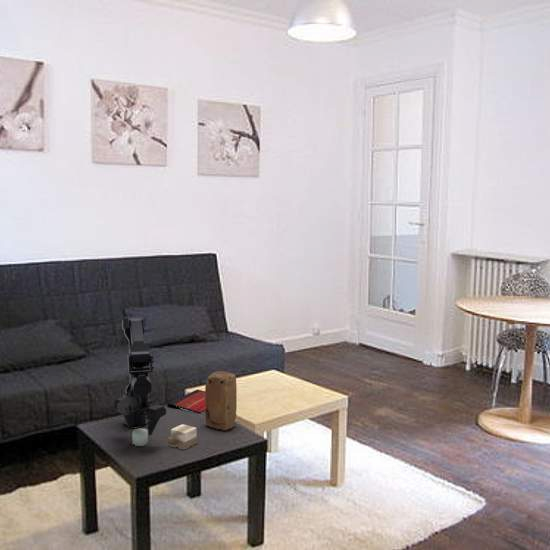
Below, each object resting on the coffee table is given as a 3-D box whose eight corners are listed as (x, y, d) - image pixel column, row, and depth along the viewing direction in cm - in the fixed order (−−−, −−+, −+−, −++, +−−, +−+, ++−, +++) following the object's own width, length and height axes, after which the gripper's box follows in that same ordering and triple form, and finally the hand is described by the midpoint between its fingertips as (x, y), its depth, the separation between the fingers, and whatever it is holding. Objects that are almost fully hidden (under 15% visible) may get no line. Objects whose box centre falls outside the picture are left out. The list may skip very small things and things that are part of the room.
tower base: (167, 446, 214) (167, 437, 213) (181, 439, 219) (181, 431, 219) (184, 451, 210) (184, 442, 210) (197, 444, 216) (197, 436, 215)
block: (238, 426, 232) (238, 373, 229) (226, 433, 225) (227, 378, 223) (213, 420, 237) (213, 368, 235) (201, 427, 231) (201, 373, 228)
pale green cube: (129, 444, 214) (129, 431, 213) (140, 440, 218) (140, 427, 217) (140, 448, 211) (140, 435, 210) (150, 443, 215) (150, 430, 215)
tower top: (170, 438, 213) (171, 429, 213) (182, 432, 218) (182, 424, 218) (185, 441, 210) (185, 433, 210) (196, 436, 215) (196, 427, 215)
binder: (167, 402, 251) (196, 388, 270) (166, 408, 251) (196, 394, 270) (201, 411, 244) (229, 396, 263) (201, 417, 244) (229, 401, 263)
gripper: (101, 387, 210) (102, 433, 212) (143, 398, 200) (143, 446, 202) (126, 379, 219) (126, 423, 222) (167, 389, 210) (167, 435, 212)
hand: (140, 431), depth 214 cm, fingers open, 9 cm apart
